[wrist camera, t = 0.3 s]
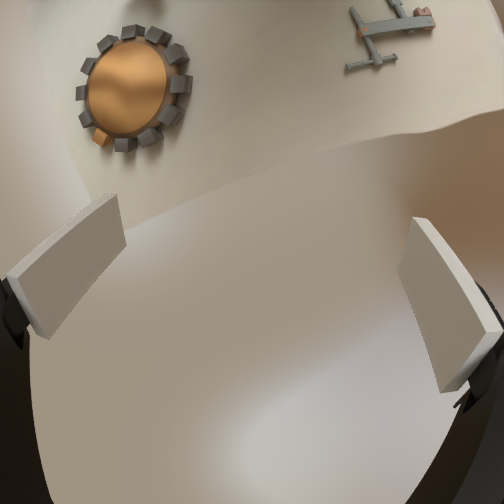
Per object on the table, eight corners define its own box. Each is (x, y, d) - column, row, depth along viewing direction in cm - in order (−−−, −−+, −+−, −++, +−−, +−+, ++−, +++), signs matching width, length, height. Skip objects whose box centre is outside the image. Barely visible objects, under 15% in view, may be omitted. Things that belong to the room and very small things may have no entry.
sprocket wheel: (90, 39, 30) (80, 38, 28) (199, 21, 28) (192, 16, 26) (85, 148, 40) (76, 151, 38) (187, 152, 38) (180, 155, 36)
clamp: (418, -11, 19) (449, 53, 22) (413, -7, 20) (443, 55, 24) (316, 4, 24) (349, 71, 28) (316, 9, 26) (347, 73, 29)
